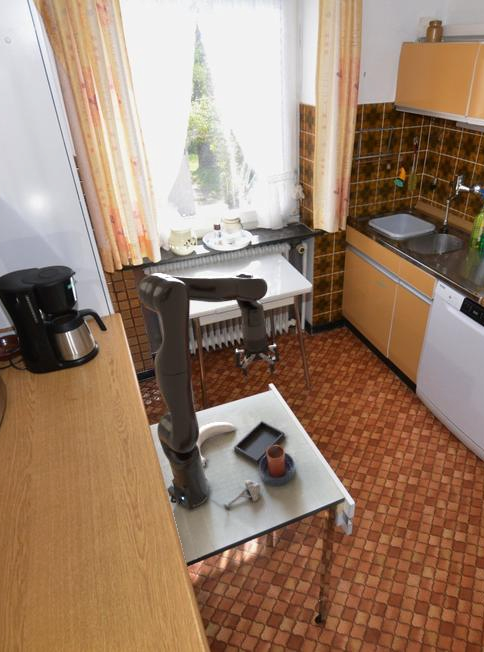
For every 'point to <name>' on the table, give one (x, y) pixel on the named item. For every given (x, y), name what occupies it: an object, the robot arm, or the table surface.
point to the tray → (258, 442)
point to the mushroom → (253, 489)
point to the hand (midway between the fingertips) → (258, 373)
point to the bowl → (282, 480)
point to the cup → (276, 461)
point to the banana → (212, 433)
